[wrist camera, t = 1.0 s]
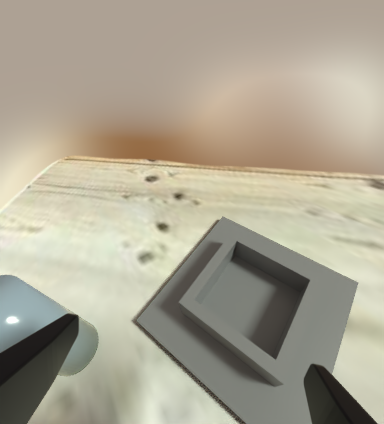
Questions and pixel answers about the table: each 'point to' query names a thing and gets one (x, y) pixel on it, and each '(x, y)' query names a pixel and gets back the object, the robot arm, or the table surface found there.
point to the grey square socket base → (252, 321)
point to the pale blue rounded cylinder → (40, 322)
